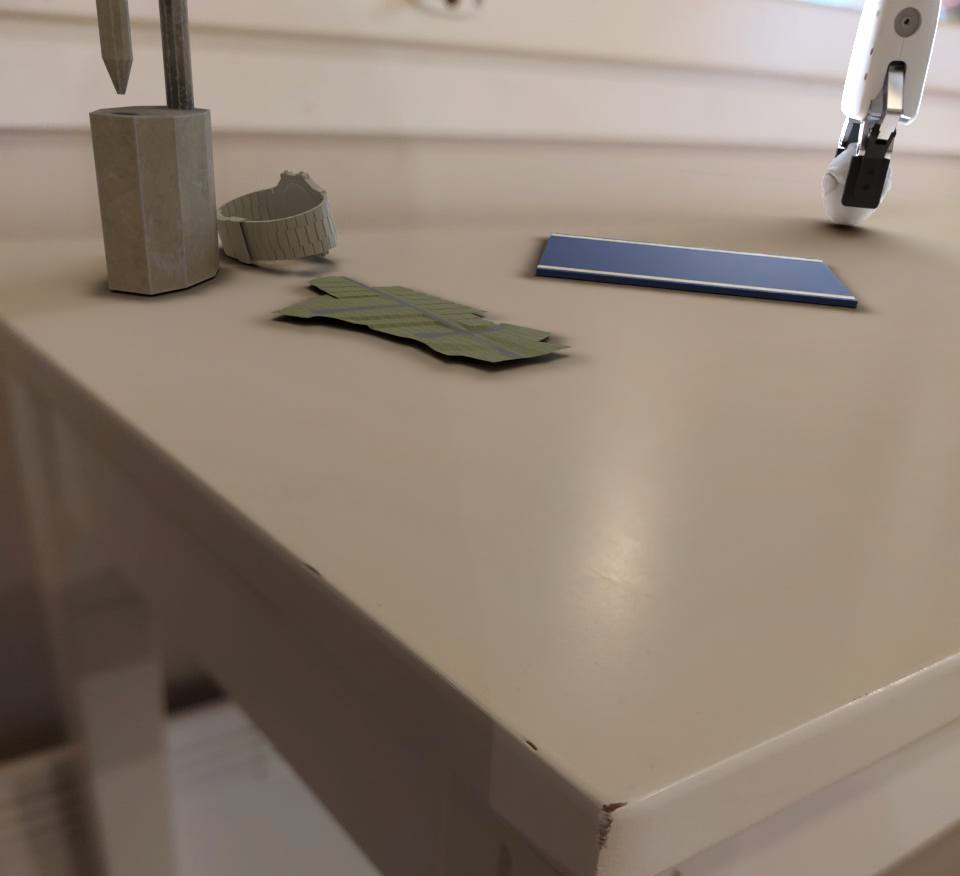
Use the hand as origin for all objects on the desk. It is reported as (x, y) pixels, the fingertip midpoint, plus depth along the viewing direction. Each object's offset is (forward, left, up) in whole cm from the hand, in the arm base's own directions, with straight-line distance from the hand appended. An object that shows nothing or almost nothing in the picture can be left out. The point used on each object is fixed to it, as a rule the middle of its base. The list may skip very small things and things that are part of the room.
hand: (851, 199), depth 92 cm
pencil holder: (+46, +48, -2) cm, 66 cm away
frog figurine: (0, 0, -2) cm, 2 cm away
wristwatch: (+42, +40, -2) cm, 58 cm away
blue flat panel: (+16, +30, -2) cm, 34 cm away
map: (+32, +52, -2) cm, 61 cm away
